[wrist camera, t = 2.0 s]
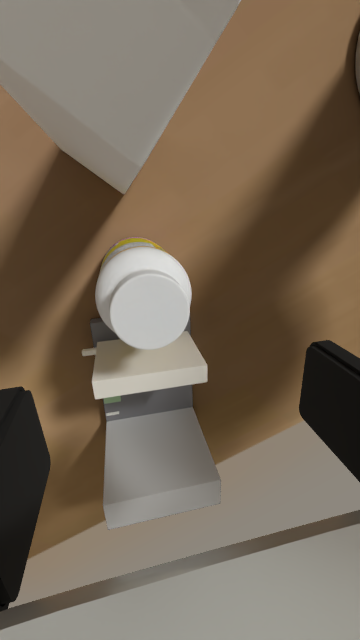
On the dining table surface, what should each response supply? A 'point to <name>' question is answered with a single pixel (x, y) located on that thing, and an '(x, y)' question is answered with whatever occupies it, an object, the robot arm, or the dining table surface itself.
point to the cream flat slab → (145, 367)
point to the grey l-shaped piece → (154, 453)
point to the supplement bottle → (143, 294)
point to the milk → (106, 71)
